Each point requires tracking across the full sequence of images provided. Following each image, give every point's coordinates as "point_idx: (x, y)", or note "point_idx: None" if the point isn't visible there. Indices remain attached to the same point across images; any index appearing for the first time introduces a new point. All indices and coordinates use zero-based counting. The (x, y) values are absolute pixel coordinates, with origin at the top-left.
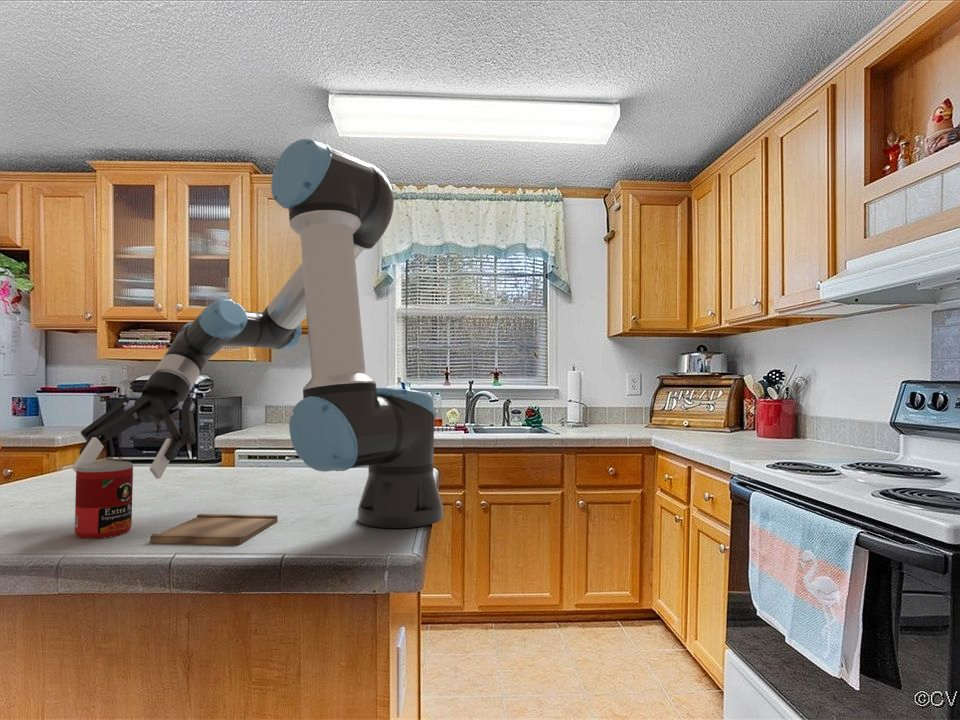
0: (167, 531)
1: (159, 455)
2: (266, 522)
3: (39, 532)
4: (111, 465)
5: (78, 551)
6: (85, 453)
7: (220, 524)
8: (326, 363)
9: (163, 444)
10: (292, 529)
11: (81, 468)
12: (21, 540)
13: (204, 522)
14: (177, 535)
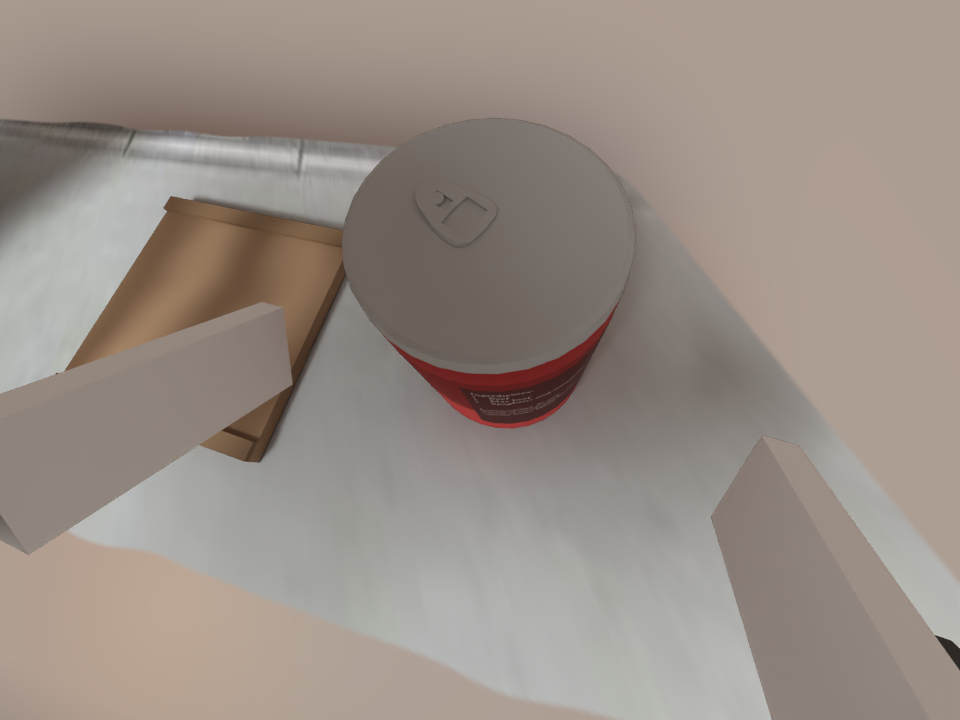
0: (322, 283)
1: (175, 338)
2: (93, 333)
3: (712, 401)
4: (466, 280)
5: None
6: (827, 544)
7: None
8: None
9: (59, 390)
10: (61, 309)
11: (561, 133)
12: (703, 314)
13: None
14: (291, 224)
